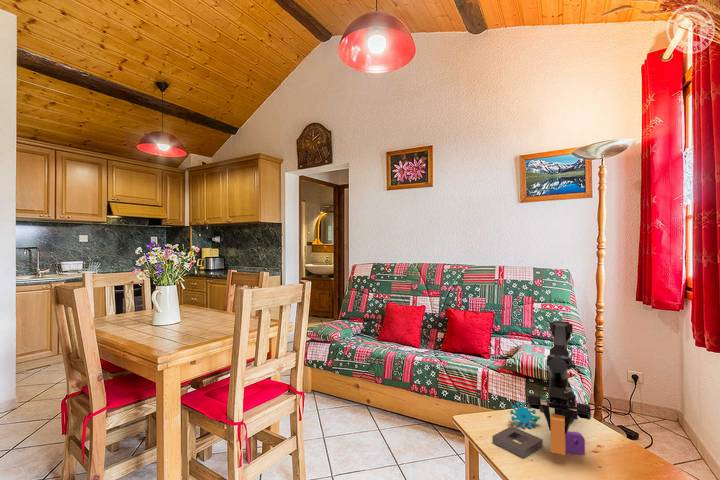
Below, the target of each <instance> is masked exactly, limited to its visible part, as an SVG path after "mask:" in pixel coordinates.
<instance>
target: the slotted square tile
mask: <svg viewBox="0 0 720 480" xmlns="http://www.w3.org/2000/svg"><path fill="white" fill-rule="evenodd" d="M491 437H492V444H494V445H495V446H498V447H499V448H502V449H504V450H506V451H508V452H510V453H511V454H513V455H516V456H517V457H519V458H521V459H526V458H528V457H529V456H530V455H532V454H534V453H536V451H538V450H539V449H541V448H543V447H544V445H543V444H544V443H543V441H544V440H543V439H542V438H540V437H538V436H536V435H534V434H531V433H529V432H527V431H524V430H522V429H521V428H518V427H516V426H513V425H510V426H509V427H507V428H504V429H503V430H500V432H497V433H495V434H494V435H492V436H491ZM515 440H517V441H518V442H517V441H515ZM519 442H520V443H519Z"/></svg>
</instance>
